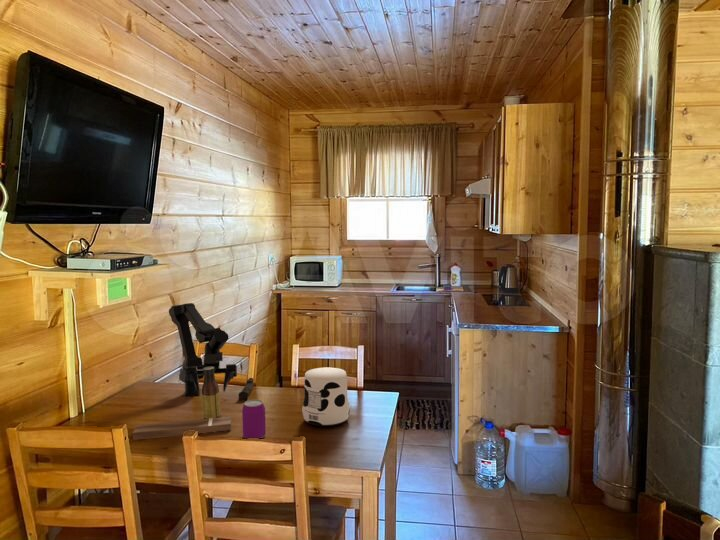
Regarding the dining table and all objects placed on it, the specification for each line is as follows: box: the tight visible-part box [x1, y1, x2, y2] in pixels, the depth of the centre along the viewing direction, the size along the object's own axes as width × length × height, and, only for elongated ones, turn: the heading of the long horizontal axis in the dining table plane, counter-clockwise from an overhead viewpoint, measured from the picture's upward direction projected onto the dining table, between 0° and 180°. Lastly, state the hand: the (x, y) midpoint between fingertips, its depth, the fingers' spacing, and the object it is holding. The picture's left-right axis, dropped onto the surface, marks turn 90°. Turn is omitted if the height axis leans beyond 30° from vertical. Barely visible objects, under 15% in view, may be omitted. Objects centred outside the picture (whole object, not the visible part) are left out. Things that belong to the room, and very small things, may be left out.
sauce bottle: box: [201, 366, 222, 419], centre depth 192 cm, size 7×6×20 cm
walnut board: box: [132, 416, 232, 441], centre depth 182 cm, size 7×32×3 cm, turn 103°
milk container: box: [301, 366, 351, 427], centre depth 190 cm, size 17×17×18 cm
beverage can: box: [241, 398, 267, 439], centre depth 177 cm, size 8×8×12 cm
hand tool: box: [238, 377, 254, 401], centre depth 223 cm, size 19×4×5 cm, turn 178°
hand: (211, 392), depth 195 cm, fingers open, 9 cm apart
